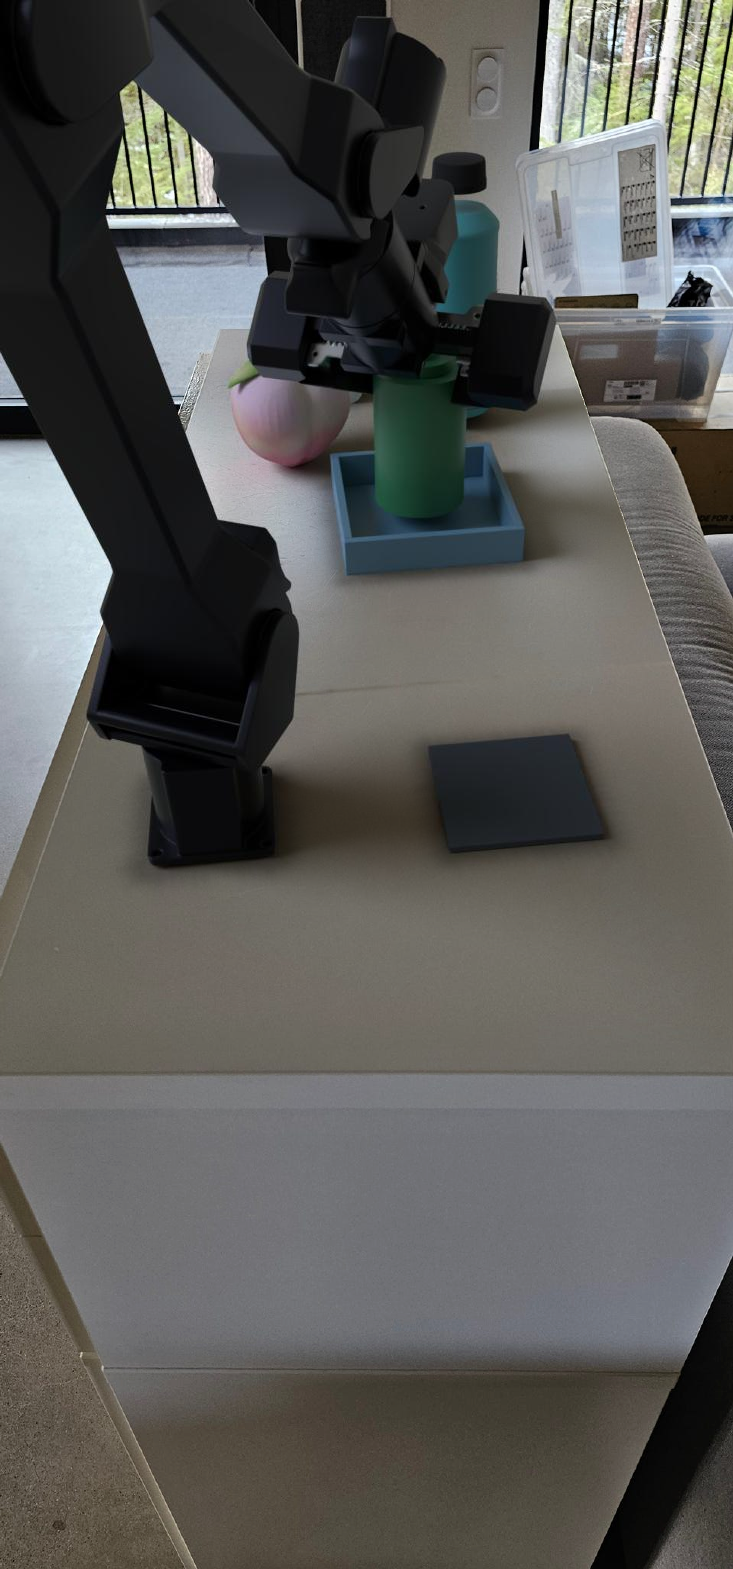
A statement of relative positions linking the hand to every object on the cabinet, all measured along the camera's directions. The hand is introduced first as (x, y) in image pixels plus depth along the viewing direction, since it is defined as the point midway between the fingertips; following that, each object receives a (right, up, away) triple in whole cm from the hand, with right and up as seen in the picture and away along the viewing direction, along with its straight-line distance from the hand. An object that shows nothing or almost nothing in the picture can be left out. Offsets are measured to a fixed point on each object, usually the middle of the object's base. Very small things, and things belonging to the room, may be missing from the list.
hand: (426, 394), depth 76 cm
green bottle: (0, -6, +4) cm, 7 cm away
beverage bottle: (+3, +4, +17) cm, 18 cm away
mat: (+4, -27, -17) cm, 32 cm away
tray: (0, -8, +4) cm, 9 cm away
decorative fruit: (-10, -2, +12) cm, 16 cm away
